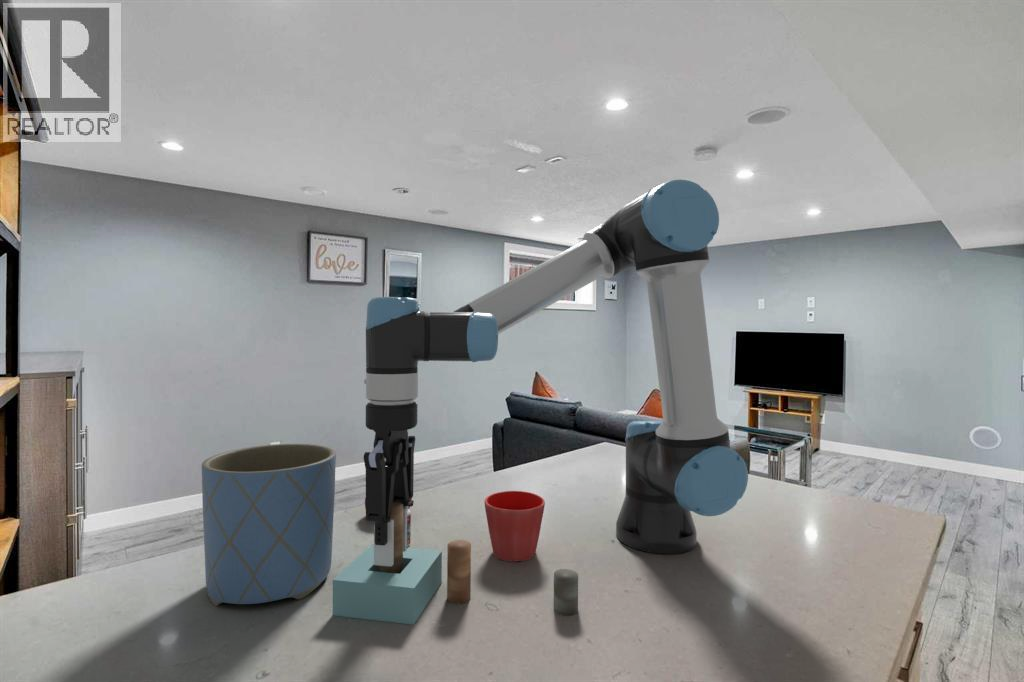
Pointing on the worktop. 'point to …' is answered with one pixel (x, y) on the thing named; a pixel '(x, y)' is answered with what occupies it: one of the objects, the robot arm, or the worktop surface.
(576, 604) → the pin short
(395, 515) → the pin long
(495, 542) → the flower pot
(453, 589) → the pin medium
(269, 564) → the planter
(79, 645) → the worktop surface
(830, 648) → the worktop surface
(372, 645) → the worktop surface
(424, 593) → the collar
